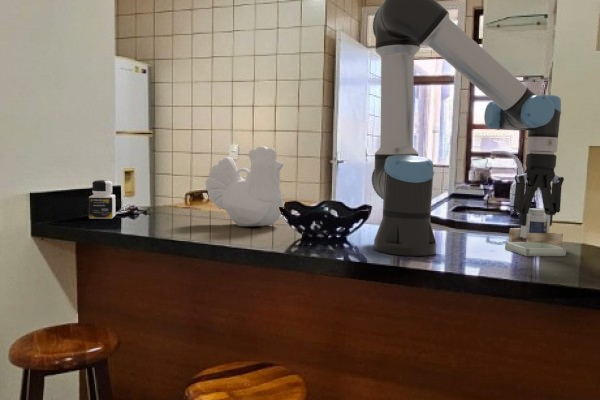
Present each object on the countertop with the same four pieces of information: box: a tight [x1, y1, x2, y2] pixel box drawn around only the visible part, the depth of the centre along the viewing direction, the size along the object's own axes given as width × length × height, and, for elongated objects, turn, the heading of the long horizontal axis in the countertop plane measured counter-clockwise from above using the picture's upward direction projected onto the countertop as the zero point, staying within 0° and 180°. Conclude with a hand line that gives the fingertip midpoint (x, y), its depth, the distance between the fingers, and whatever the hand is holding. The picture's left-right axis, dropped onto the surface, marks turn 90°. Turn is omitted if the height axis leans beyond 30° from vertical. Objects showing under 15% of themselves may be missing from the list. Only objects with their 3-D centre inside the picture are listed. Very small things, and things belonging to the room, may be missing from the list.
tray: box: [504, 241, 567, 257], centre depth 134 cm, size 11×9×2 cm
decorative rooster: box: [204, 145, 285, 227], centre depth 164 cm, size 25×16×25 cm, turn 63°
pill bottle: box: [523, 207, 546, 242], centre depth 145 cm, size 5×5×10 cm
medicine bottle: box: [88, 179, 116, 220], centre depth 170 cm, size 7×7×12 cm
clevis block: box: [508, 227, 564, 248], centre depth 145 cm, size 10×9×4 cm
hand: (534, 237), depth 145 cm, fingers closed on pill bottle, 5 cm apart
